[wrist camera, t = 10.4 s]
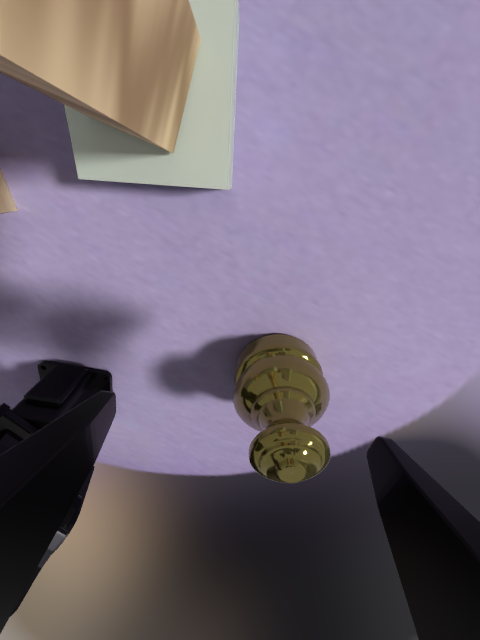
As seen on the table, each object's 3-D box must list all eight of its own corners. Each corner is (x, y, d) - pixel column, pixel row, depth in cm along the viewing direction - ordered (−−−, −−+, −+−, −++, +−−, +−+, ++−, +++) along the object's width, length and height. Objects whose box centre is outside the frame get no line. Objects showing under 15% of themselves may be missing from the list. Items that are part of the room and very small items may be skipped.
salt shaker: (218, 365, 24) (201, 472, 15) (280, 315, 21) (302, 408, 13) (272, 408, 26) (283, 522, 17) (333, 367, 24) (384, 477, 15)
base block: (231, 188, 18) (227, 189, 14) (113, 179, 18) (78, 179, 14) (239, 19, 14) (236, -37, 10) (88, 8, 14) (32, -53, 10)
